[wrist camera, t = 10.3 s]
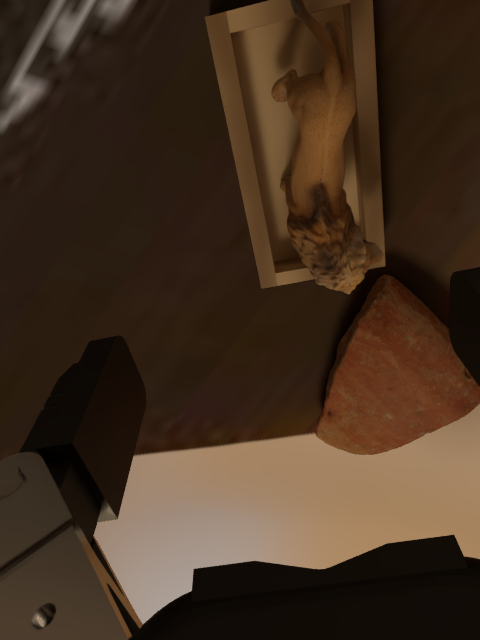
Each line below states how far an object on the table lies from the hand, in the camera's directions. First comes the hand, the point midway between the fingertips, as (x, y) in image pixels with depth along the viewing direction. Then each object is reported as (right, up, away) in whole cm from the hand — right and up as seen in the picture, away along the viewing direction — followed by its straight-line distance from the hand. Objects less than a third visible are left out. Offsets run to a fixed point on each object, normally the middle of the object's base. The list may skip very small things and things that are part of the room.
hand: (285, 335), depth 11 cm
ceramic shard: (+11, -4, +30) cm, 32 cm away
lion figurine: (+4, +12, +18) cm, 22 cm away
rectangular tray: (+3, +12, +19) cm, 23 cm away
